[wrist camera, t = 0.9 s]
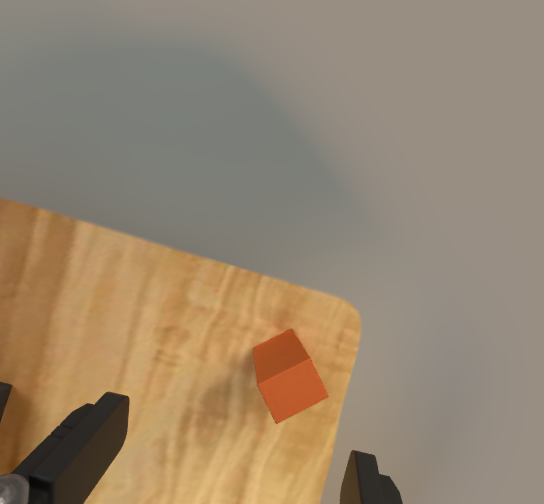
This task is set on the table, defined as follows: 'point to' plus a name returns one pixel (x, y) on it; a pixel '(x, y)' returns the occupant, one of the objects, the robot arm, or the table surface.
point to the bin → (4, 396)
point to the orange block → (287, 376)
